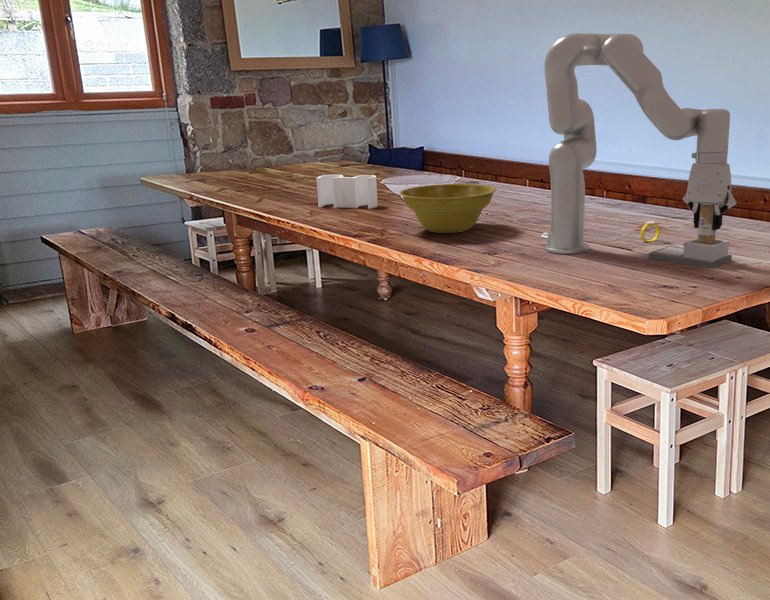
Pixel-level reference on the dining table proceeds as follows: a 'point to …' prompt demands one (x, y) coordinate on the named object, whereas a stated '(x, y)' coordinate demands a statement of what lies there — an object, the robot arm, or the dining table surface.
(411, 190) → the planter bowl
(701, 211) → the sprinkles bottle
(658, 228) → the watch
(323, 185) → the bracket
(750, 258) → the dining table surface
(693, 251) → the grey tray with box
